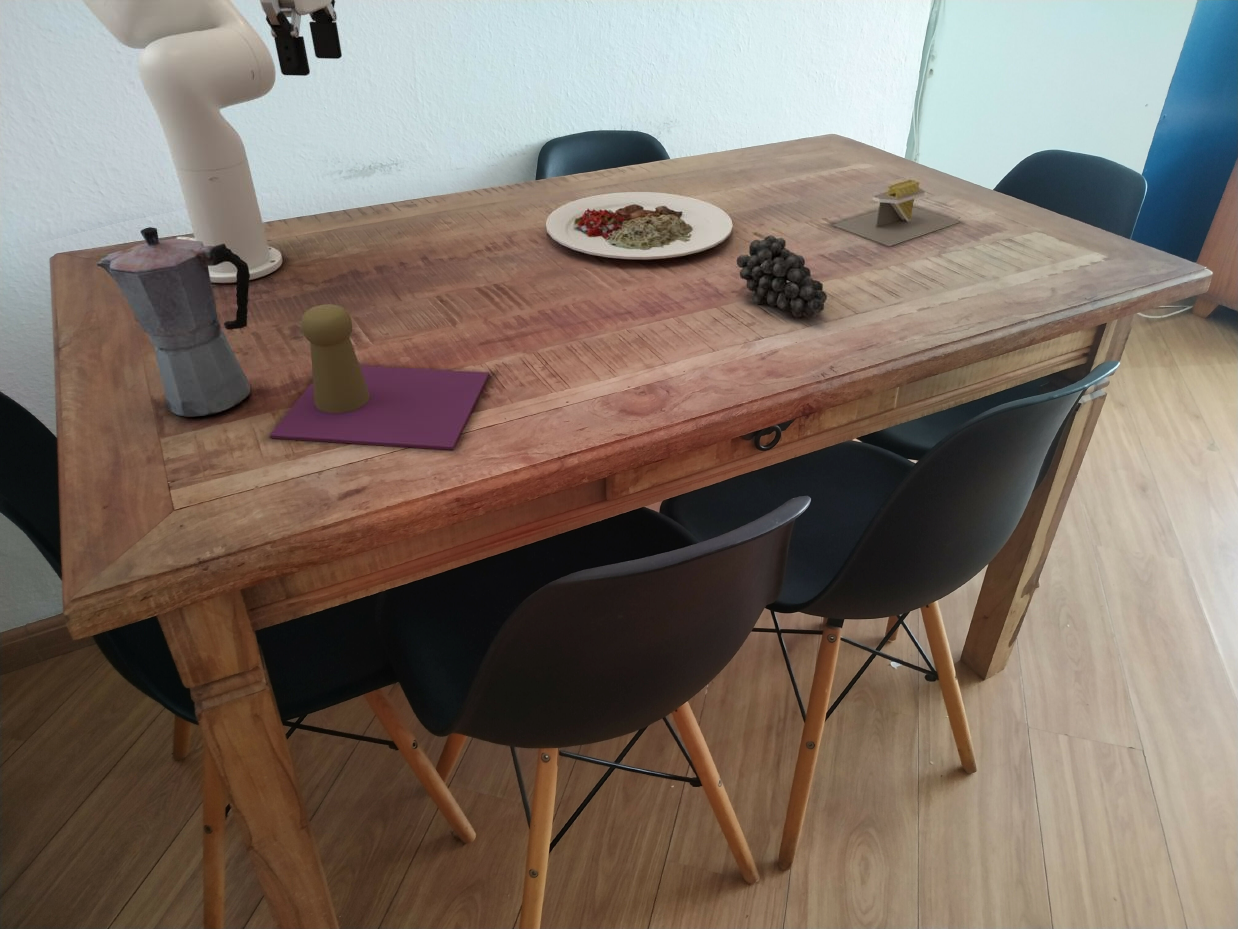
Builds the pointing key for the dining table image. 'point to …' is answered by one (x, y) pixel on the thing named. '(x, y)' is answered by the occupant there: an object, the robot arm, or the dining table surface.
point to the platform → (896, 217)
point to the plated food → (639, 225)
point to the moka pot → (185, 319)
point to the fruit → (781, 278)
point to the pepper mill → (334, 360)
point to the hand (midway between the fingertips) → (313, 66)
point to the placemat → (392, 410)
